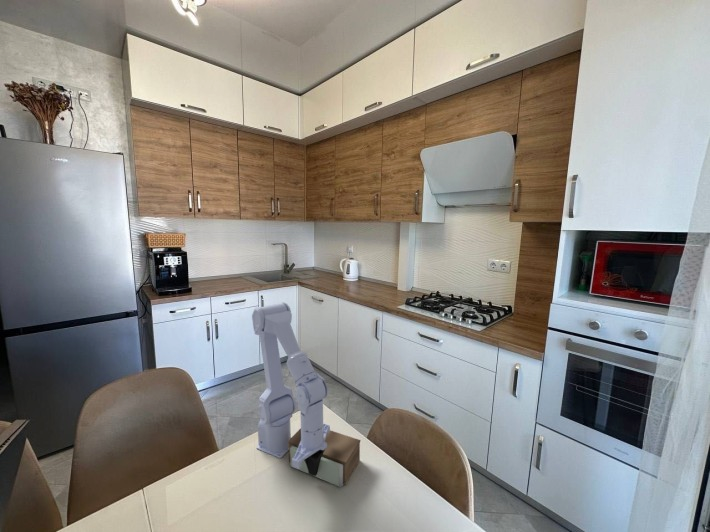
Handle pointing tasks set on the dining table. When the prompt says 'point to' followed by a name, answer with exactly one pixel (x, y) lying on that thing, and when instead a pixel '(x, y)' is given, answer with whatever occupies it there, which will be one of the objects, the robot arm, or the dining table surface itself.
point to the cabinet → (336, 451)
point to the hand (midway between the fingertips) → (313, 473)
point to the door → (323, 469)
